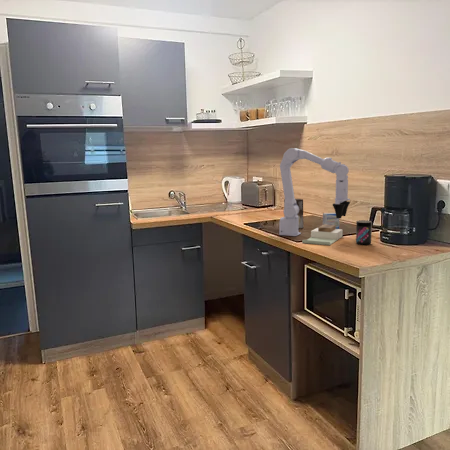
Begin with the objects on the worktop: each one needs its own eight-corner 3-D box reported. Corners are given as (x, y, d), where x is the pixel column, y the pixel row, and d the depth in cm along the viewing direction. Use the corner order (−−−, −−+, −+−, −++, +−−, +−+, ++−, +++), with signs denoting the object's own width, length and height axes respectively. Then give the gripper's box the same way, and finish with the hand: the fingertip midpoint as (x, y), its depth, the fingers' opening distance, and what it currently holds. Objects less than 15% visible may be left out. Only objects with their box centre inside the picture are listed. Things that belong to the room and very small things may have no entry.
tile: (318, 231, 205) (318, 227, 205) (323, 228, 213) (323, 224, 212) (330, 232, 202) (330, 228, 202) (335, 229, 210) (335, 225, 209)
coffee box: (298, 226, 240) (298, 198, 237) (303, 227, 234) (303, 199, 231) (283, 227, 238) (283, 199, 235) (288, 229, 232) (288, 200, 229)
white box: (311, 238, 207) (311, 231, 206) (317, 234, 215) (317, 227, 214) (337, 240, 200) (337, 232, 200) (342, 236, 208) (342, 229, 208)
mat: (302, 243, 196) (302, 239, 196) (310, 238, 207) (310, 235, 206) (329, 245, 190) (329, 242, 189) (337, 240, 200) (337, 237, 200)
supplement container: (352, 243, 193) (353, 220, 191) (365, 241, 195) (365, 219, 193) (361, 246, 187) (362, 223, 185) (374, 244, 189) (375, 222, 187)
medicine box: (325, 229, 226) (326, 214, 225) (322, 228, 231) (322, 213, 229) (339, 229, 228) (339, 213, 226) (335, 227, 232) (336, 212, 231)
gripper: (346, 191, 195) (345, 219, 198) (353, 188, 207) (353, 215, 210) (331, 190, 199) (330, 218, 201) (339, 188, 211) (339, 214, 213)
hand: (341, 217), depth 206 cm, fingers open, 7 cm apart
